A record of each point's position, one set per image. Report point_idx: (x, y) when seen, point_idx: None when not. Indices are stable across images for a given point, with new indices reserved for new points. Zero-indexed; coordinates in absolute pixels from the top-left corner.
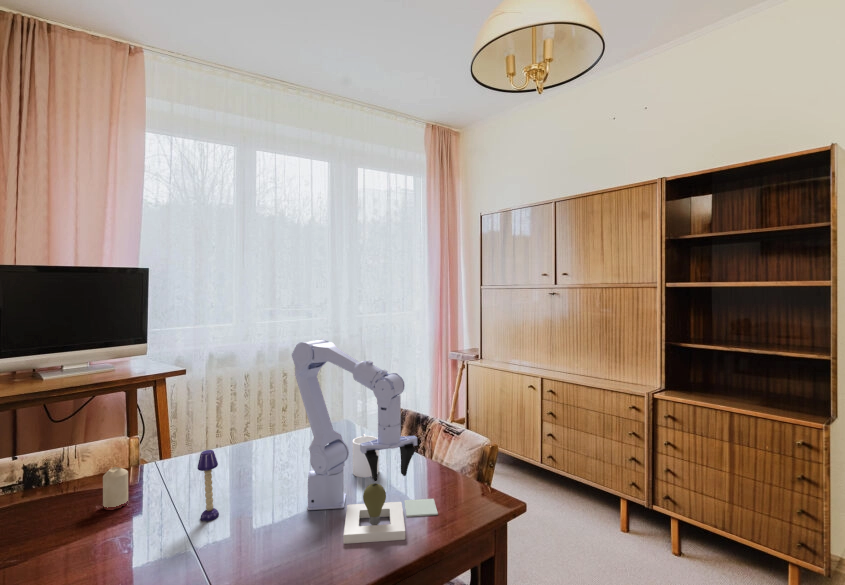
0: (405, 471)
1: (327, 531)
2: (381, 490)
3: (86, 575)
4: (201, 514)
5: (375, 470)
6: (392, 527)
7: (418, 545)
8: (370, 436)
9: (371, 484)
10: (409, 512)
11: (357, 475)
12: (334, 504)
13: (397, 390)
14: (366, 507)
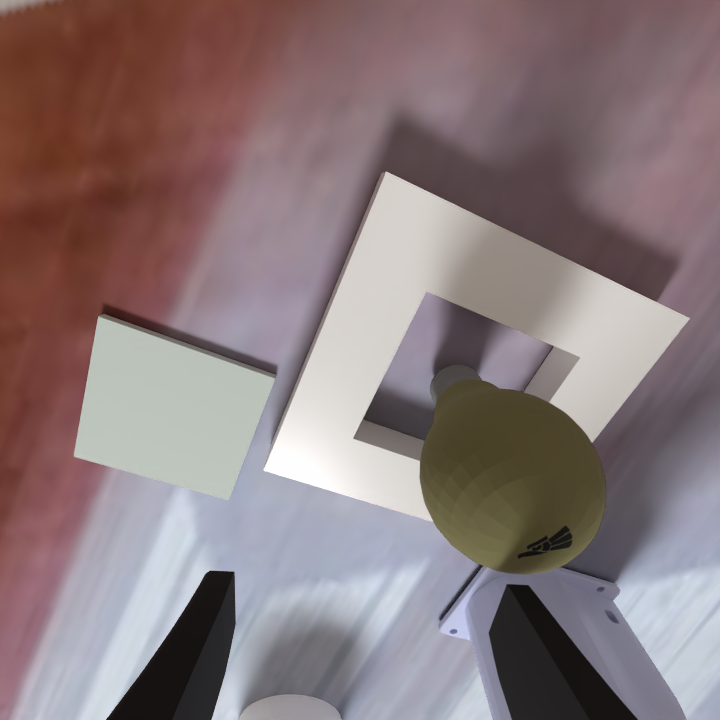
0: (202, 612)
1: (645, 428)
2: (503, 470)
3: None
4: None
5: (603, 705)
6: (434, 253)
7: (340, 66)
8: None
9: (560, 561)
10: (249, 396)
11: (334, 712)
12: (530, 576)
13: None
14: None
